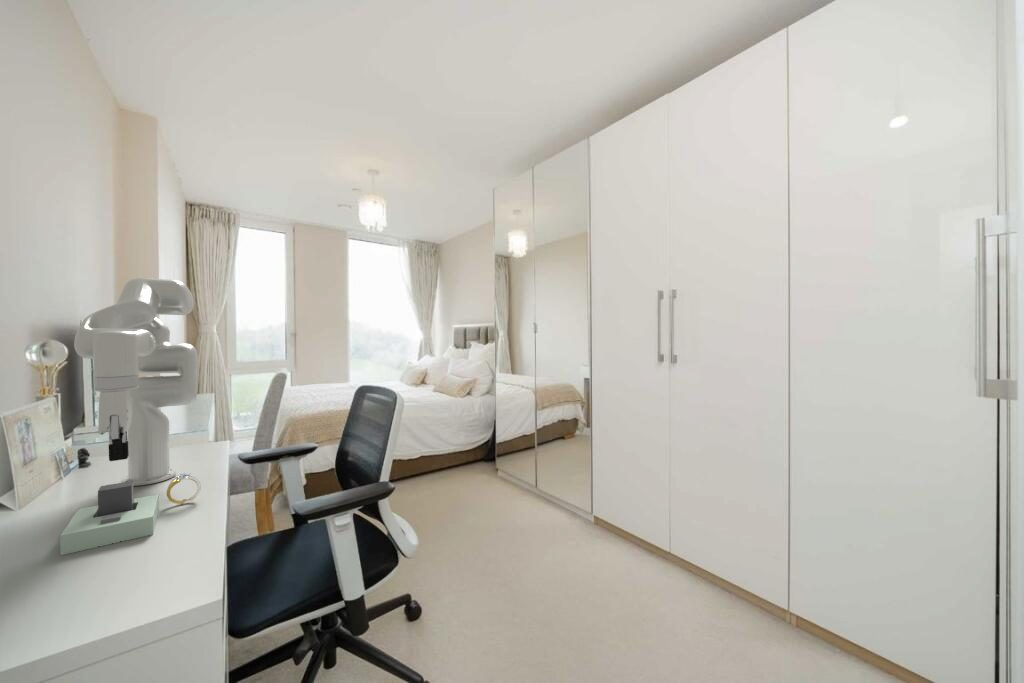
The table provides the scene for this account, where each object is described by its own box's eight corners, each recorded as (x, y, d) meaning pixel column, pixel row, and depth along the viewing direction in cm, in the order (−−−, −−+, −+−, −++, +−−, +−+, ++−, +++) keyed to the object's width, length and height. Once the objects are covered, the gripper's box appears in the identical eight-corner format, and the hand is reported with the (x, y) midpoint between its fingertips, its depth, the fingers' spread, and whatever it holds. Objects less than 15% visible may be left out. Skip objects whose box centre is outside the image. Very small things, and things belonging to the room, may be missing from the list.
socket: (79, 525, 94) (78, 505, 94) (158, 509, 103) (158, 491, 102) (60, 555, 81) (60, 531, 81) (153, 534, 90) (152, 512, 90)
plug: (101, 524, 93) (100, 486, 93) (133, 518, 97) (133, 480, 97) (98, 531, 90) (97, 491, 90) (132, 524, 94) (131, 485, 94)
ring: (166, 509, 103) (165, 478, 103) (167, 504, 106) (167, 474, 106) (200, 502, 107) (200, 472, 107) (201, 498, 110) (201, 469, 110)
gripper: (100, 379, 99) (102, 453, 100) (87, 389, 87) (89, 472, 88) (141, 377, 103) (143, 447, 104) (134, 386, 92) (136, 465, 93)
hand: (119, 459), depth 96 cm, fingers closed
